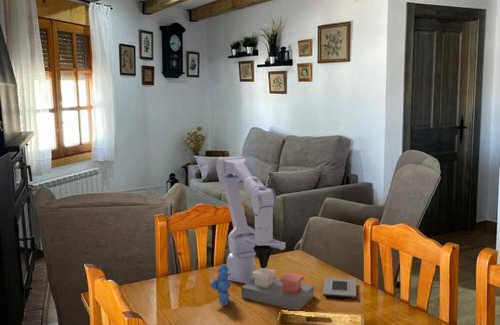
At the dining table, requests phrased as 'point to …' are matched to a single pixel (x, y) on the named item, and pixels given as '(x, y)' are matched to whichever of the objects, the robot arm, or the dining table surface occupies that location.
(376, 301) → the dining table surface
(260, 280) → the white plunger
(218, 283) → the grapes
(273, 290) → the panel
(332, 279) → the electrical outlet
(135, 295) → the dining table surface
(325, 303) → the dining table surface
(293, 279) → the red plunger
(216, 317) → the dining table surface
